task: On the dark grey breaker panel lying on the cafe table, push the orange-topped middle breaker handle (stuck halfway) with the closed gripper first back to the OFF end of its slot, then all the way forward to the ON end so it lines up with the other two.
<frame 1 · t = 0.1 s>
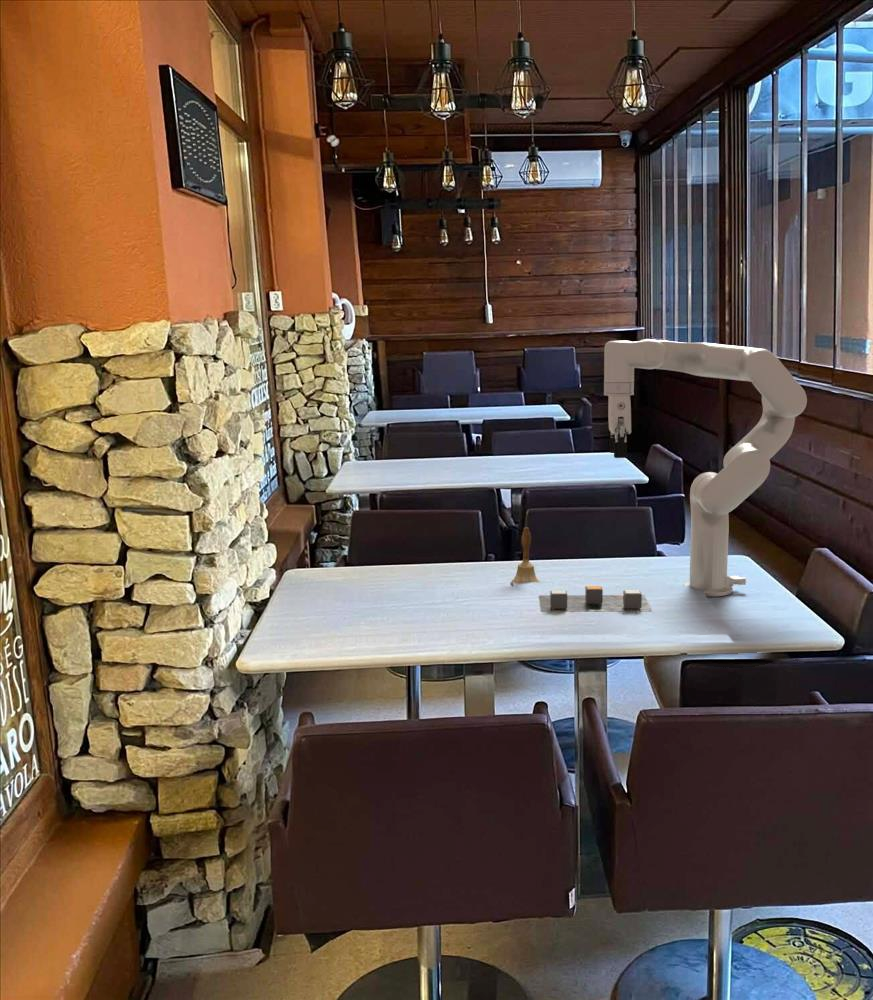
hand: (618, 455, 245), 37 cm above the table, tool pointing down, fingers open, 9 cm apart
hand bell: (525, 584, 262), on the table
breaker 1: (558, 599, 233), point 4 cm above the table, slide at 8.0 cm
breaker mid: (593, 594, 236), point 4 cm above the table, slide at 4.0 cm
panel: (593, 608, 237), on the table
breaker 2: (632, 598, 231), point 4 cm above the table, slide at 8.0 cm
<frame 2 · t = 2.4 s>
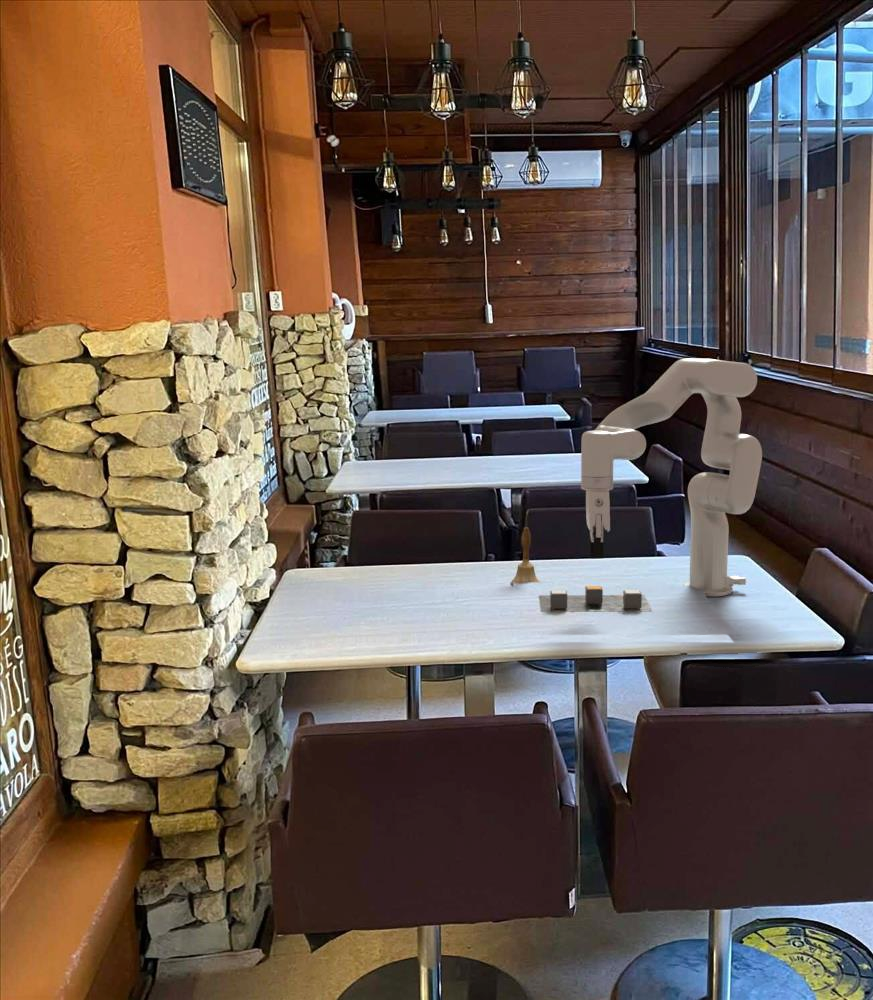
hand: (596, 557, 228), 15 cm above the table, tool pointing down, fingers closed
nothing on the table moved.
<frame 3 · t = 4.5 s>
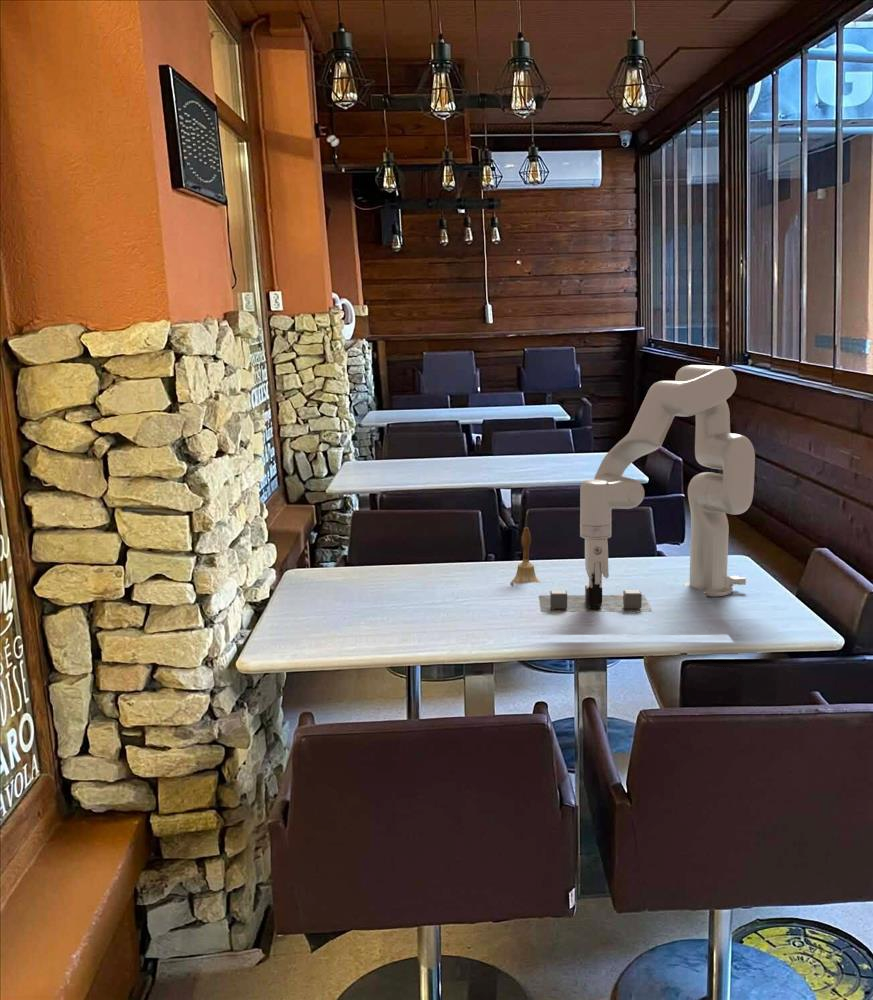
hand: (595, 602, 233), 3 cm above the table, tool pointing down, fingers closed
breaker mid: (593, 593, 237), point 4 cm above the table, slide at 3.2 cm, touching gripper
everything else where it was.
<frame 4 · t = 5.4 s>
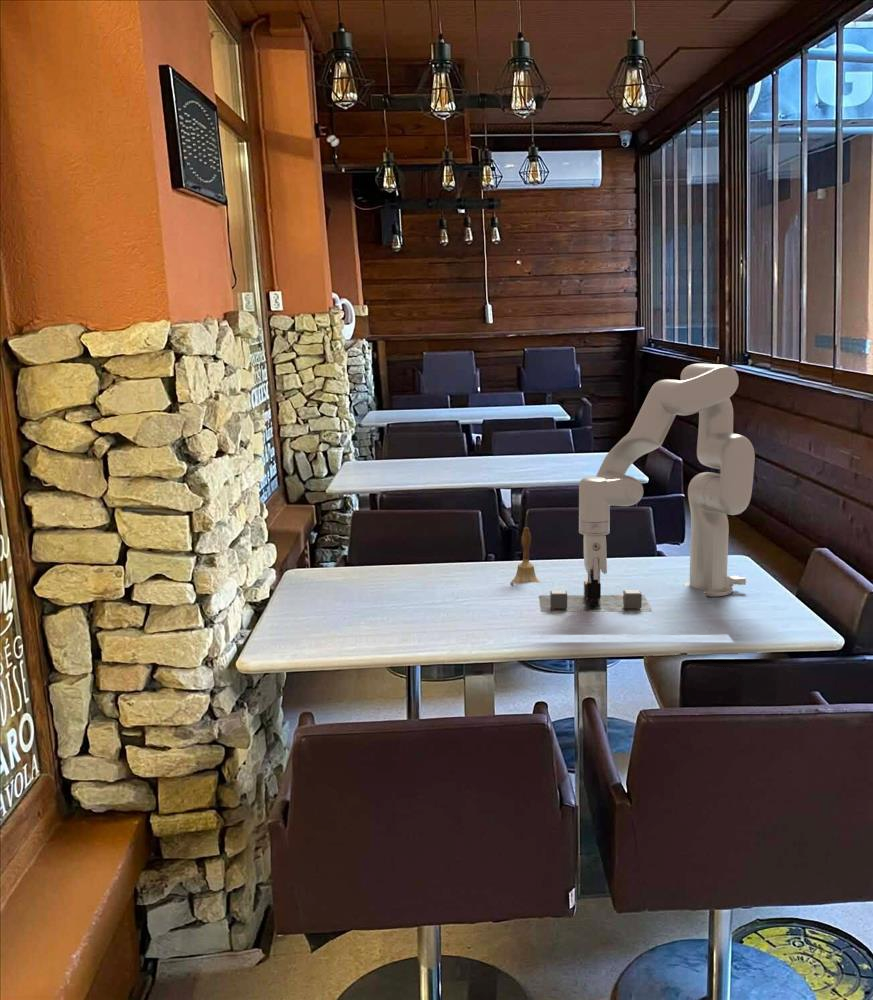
hand: (593, 597, 237), 3 cm above the table, tool pointing down, fingers closed
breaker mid: (592, 589, 241), point 4 cm above the table, slide at -0.7 cm, touching gripper
everything else where it was.
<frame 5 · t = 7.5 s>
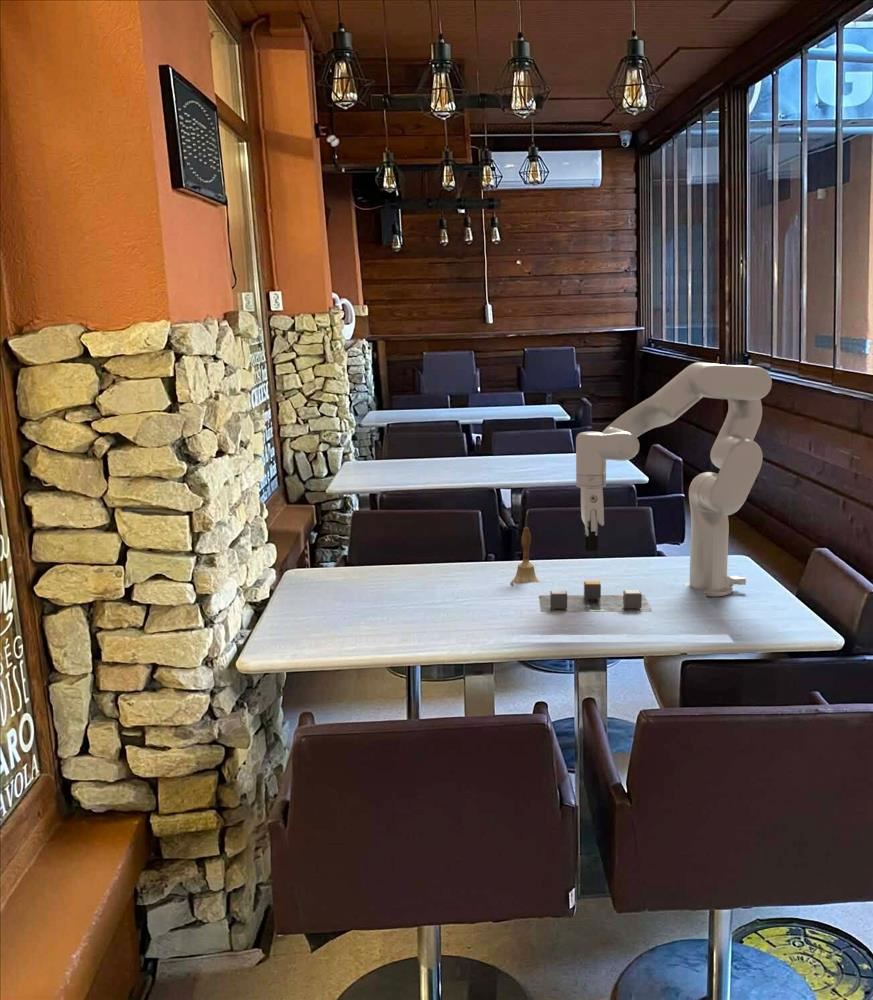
hand: (591, 550, 244), 13 cm above the table, tool pointing down, fingers closed
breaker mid: (592, 589, 241), point 4 cm above the table, slide at -0.6 cm
everything else where it was.
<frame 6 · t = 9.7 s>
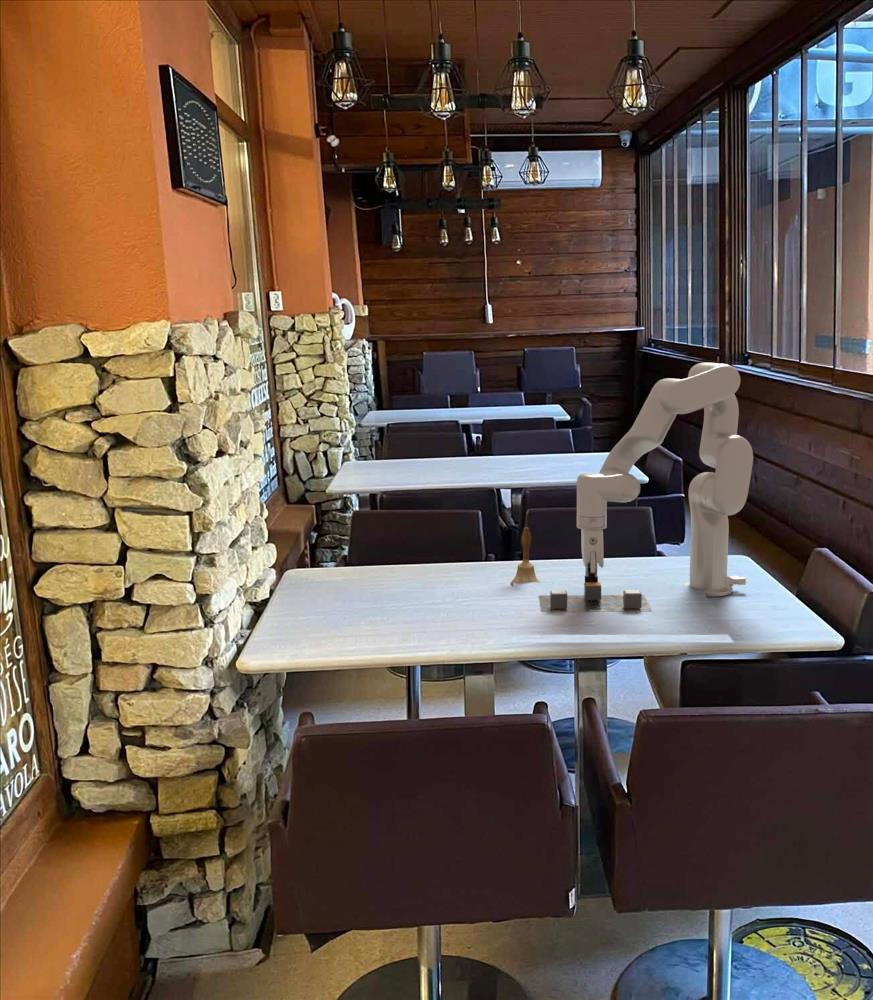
hand: (591, 591, 243), 3 cm above the table, tool pointing down, fingers closed
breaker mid: (592, 590, 239), point 4 cm above the table, slide at 0.7 cm, touching gripper
everything else where it was.
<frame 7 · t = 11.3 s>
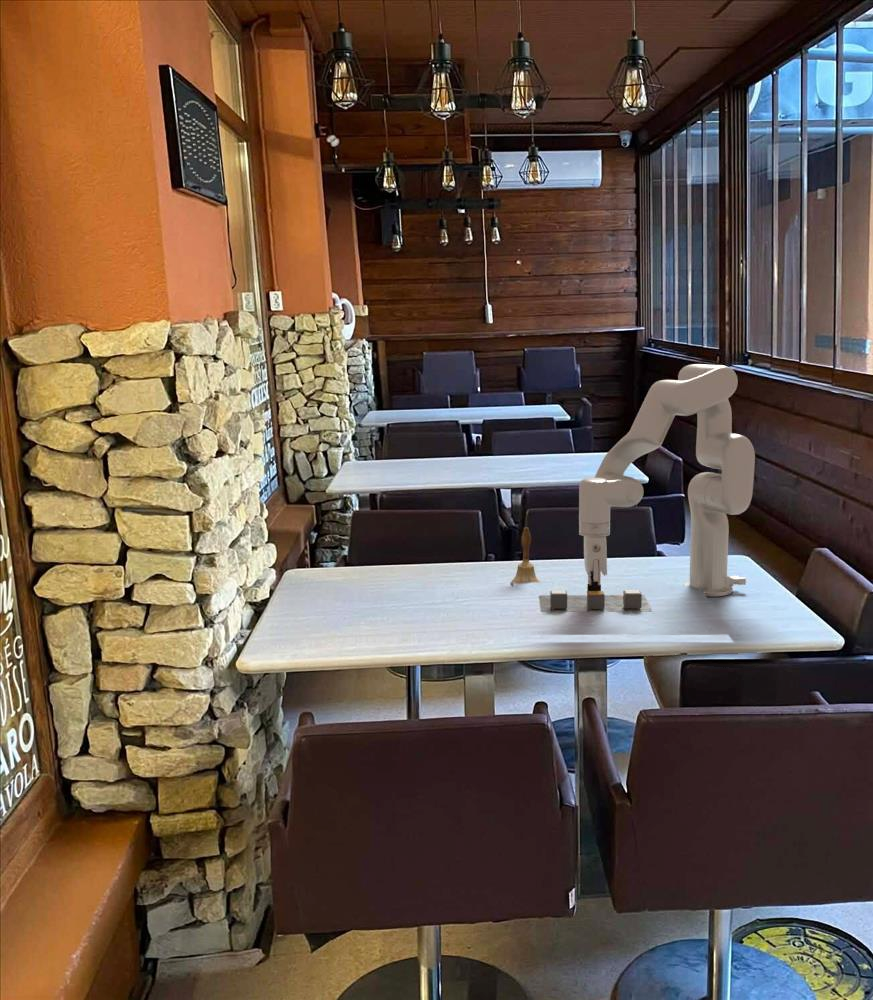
hand: (594, 599, 235), 3 cm above the table, tool pointing down, fingers closed
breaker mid: (595, 599, 232), point 4 cm above the table, slide at 8.6 cm, touching gripper
everything else where it was.
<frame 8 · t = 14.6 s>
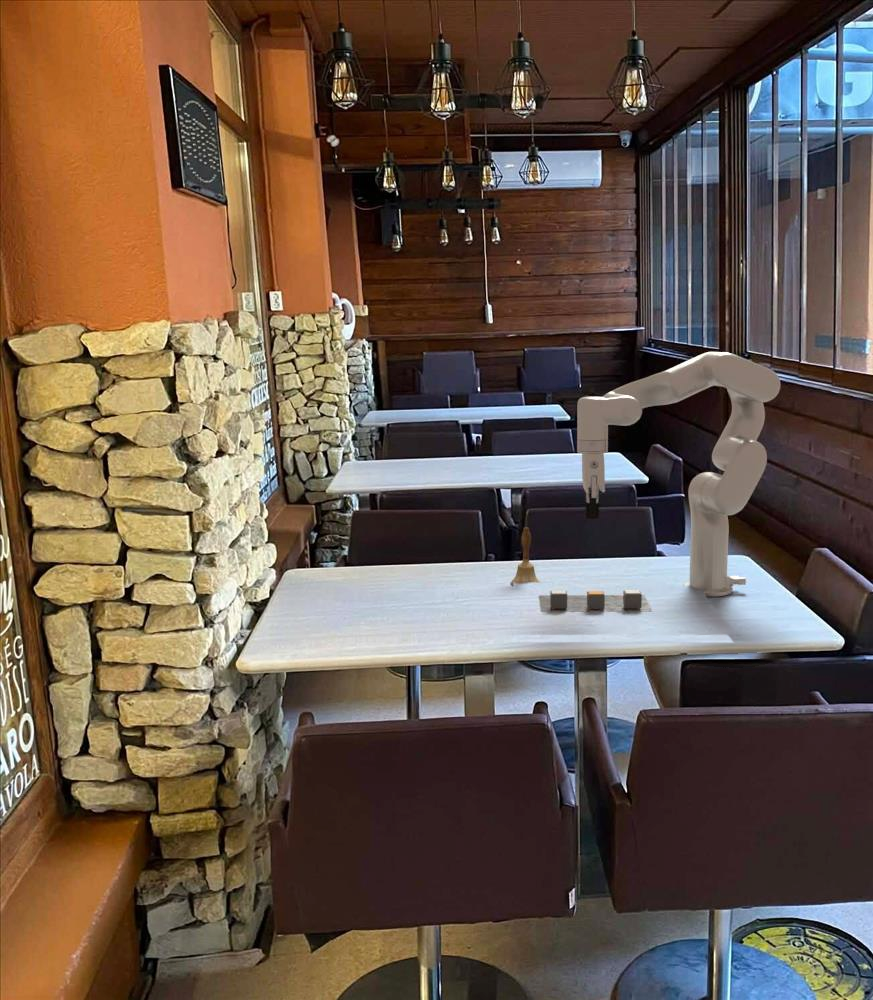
hand: (592, 518, 239), 22 cm above the table, tool pointing down, fingers closed
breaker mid: (595, 599, 232), point 4 cm above the table, slide at 8.6 cm
everything else where it was.
at the end: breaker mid slide at 8.6 cm; breaker 2 slide at 8.0 cm; breaker 1 slide at 8.0 cm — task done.
